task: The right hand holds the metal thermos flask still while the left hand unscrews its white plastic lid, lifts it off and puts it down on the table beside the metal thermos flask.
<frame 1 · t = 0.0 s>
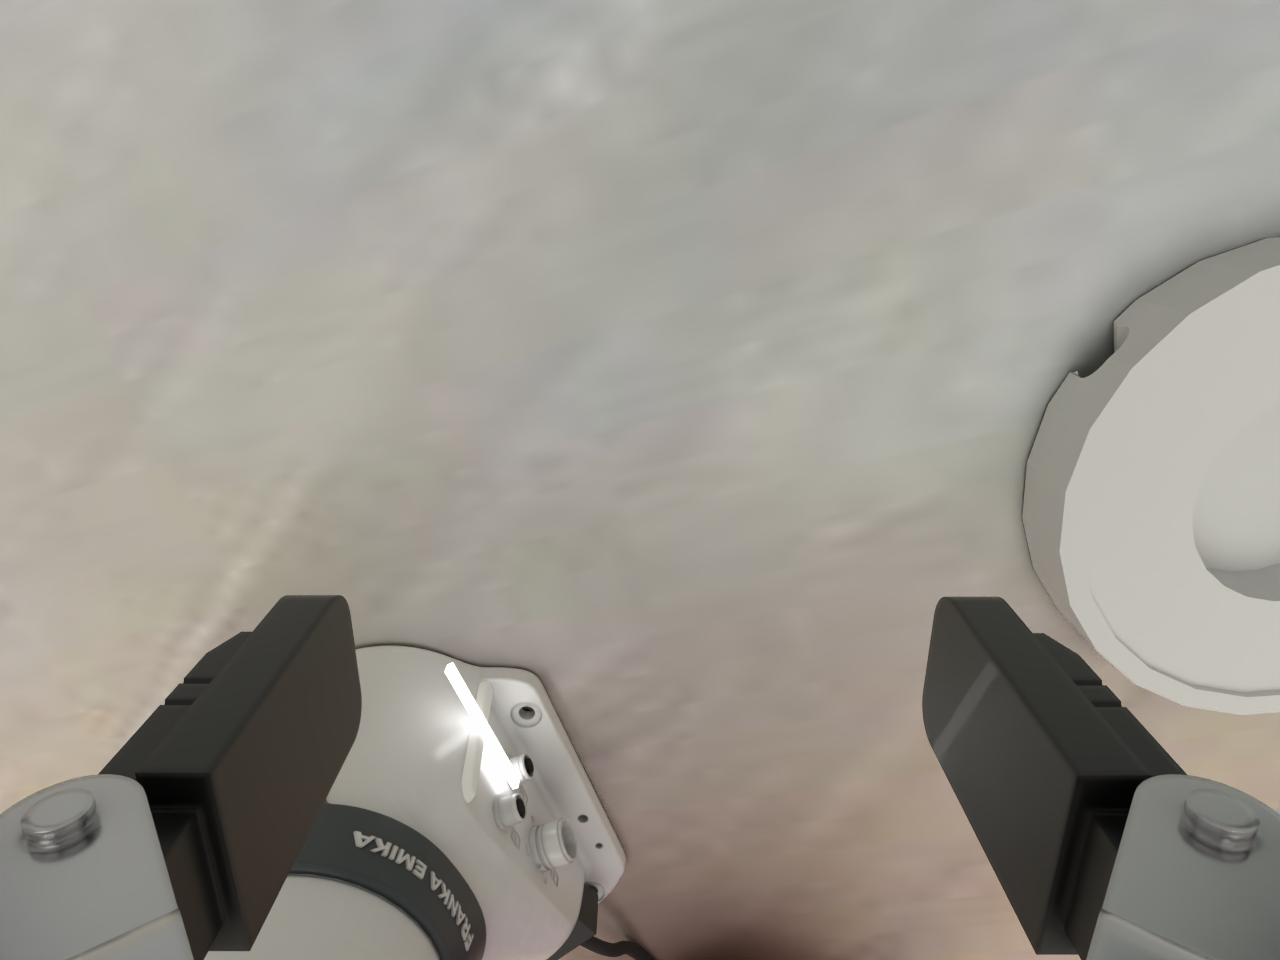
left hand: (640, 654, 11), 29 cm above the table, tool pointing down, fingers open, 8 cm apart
ashtray: (1253, 471, 42), on the table
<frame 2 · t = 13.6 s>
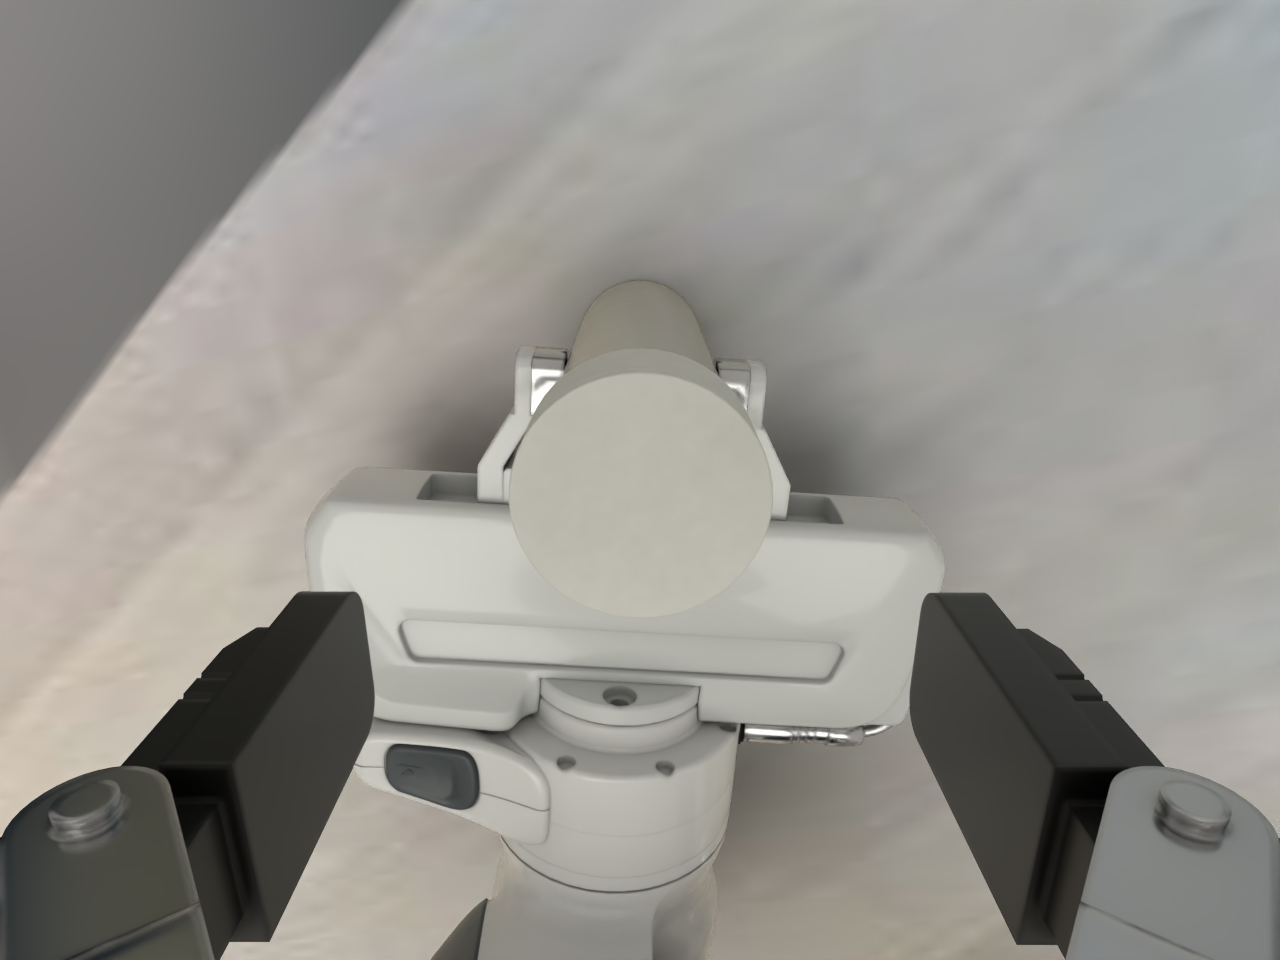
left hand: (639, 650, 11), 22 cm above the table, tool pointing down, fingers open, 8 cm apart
metal thermos flask: (639, 341, 32), on the table, touching right hand
lid: (640, 496, 17), point 16 cm above the table, screwed on, not yet turned
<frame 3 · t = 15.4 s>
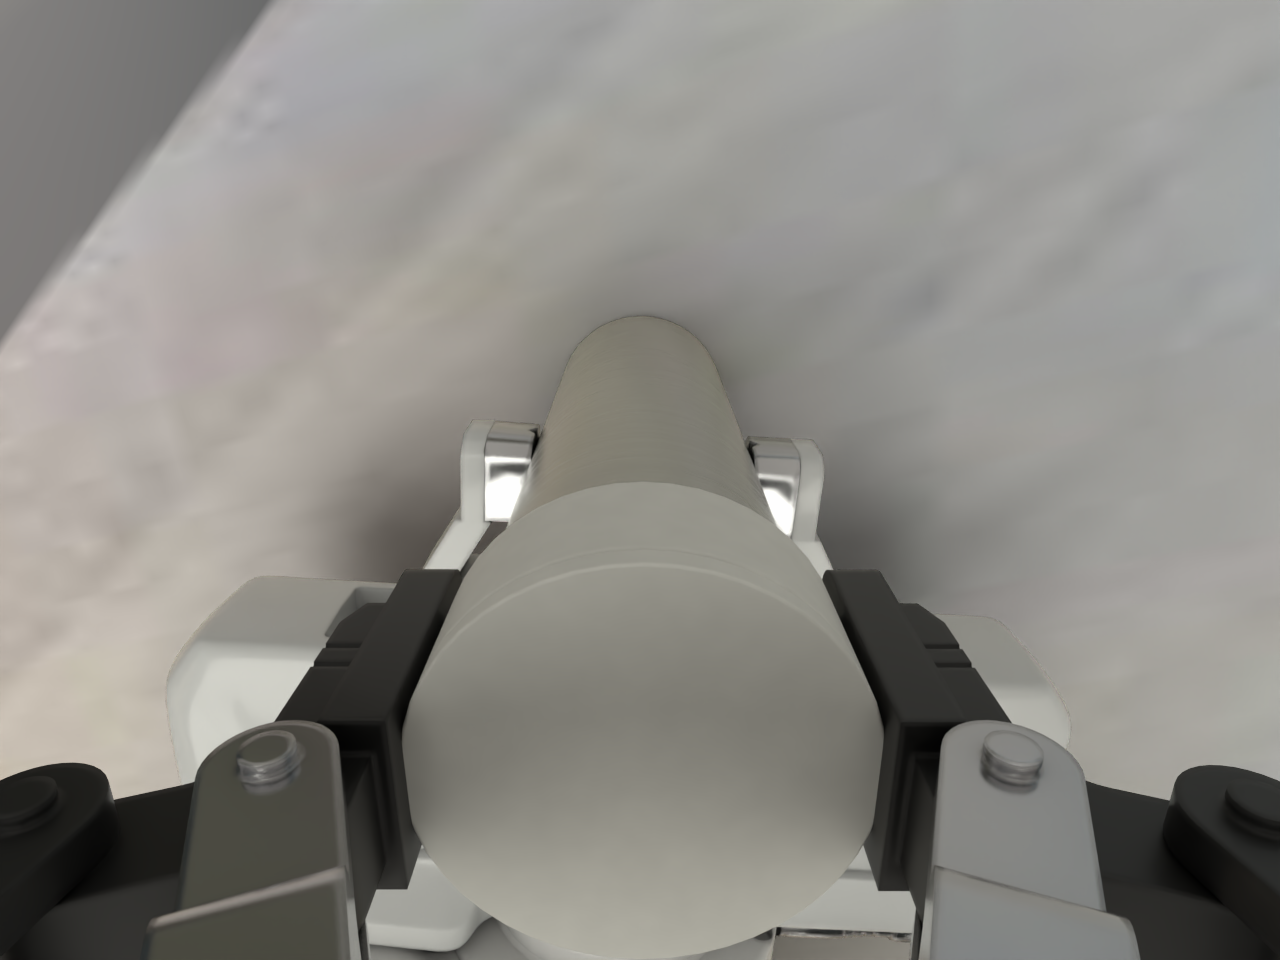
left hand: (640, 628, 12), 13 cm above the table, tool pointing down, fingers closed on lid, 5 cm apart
metal thermos flask: (640, 395, 24), on the table, touching right hand
lid: (642, 761, 9), point 16 cm above the table, screwed on, not yet turned, touching left hand
when the left hand's fingers open (13 cm above the table, at t = 16.9 s): lid stays where it is, point 16 cm above the table.
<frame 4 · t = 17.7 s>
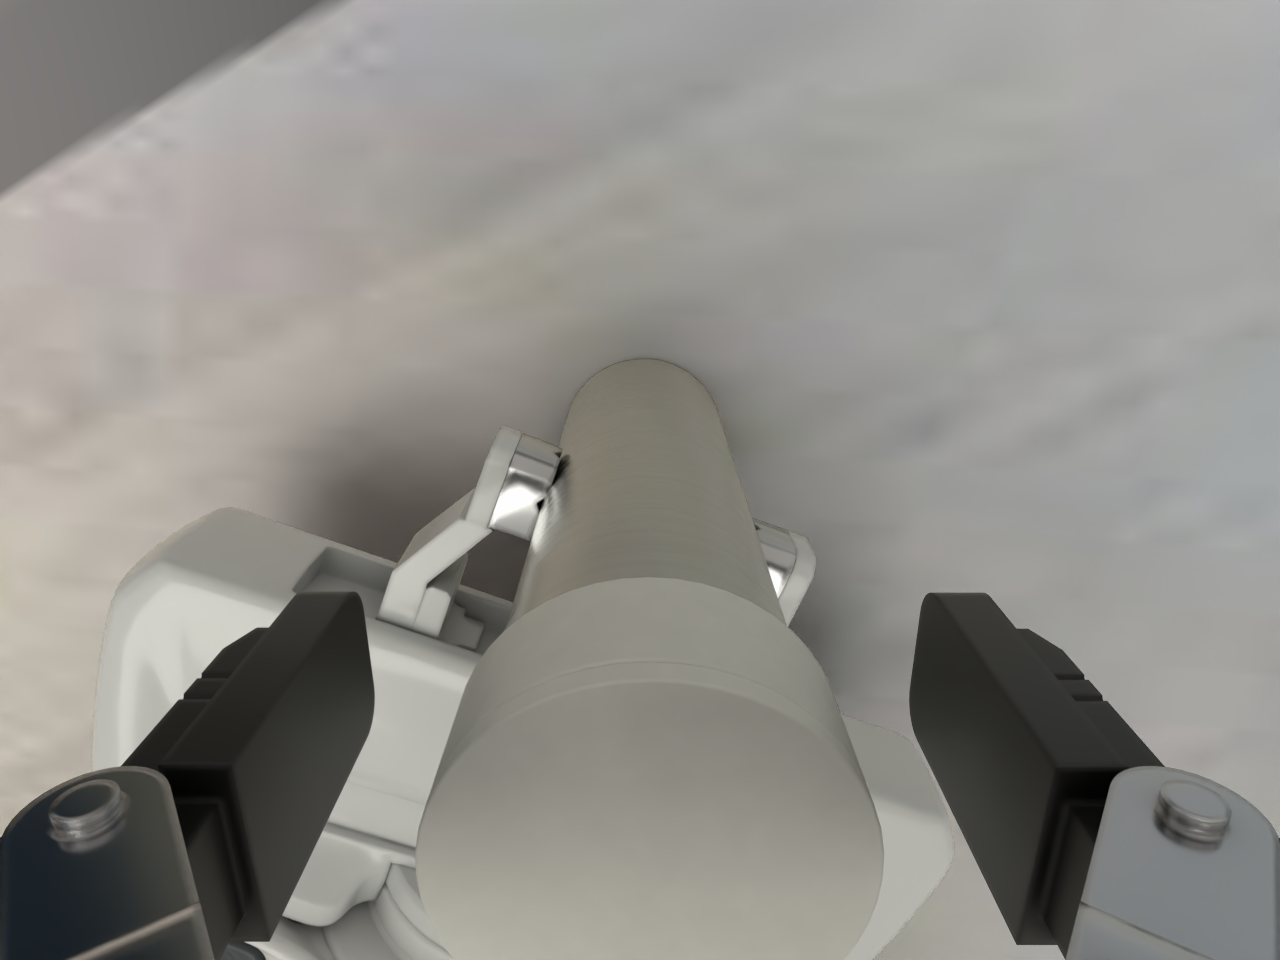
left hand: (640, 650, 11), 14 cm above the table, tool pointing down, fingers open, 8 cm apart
metal thermos flask: (643, 434, 25), on the table, touching right hand
lid: (649, 854, 10), point 16 cm above the table, turned 70° so far, risen 0.2 cm, still on its thread
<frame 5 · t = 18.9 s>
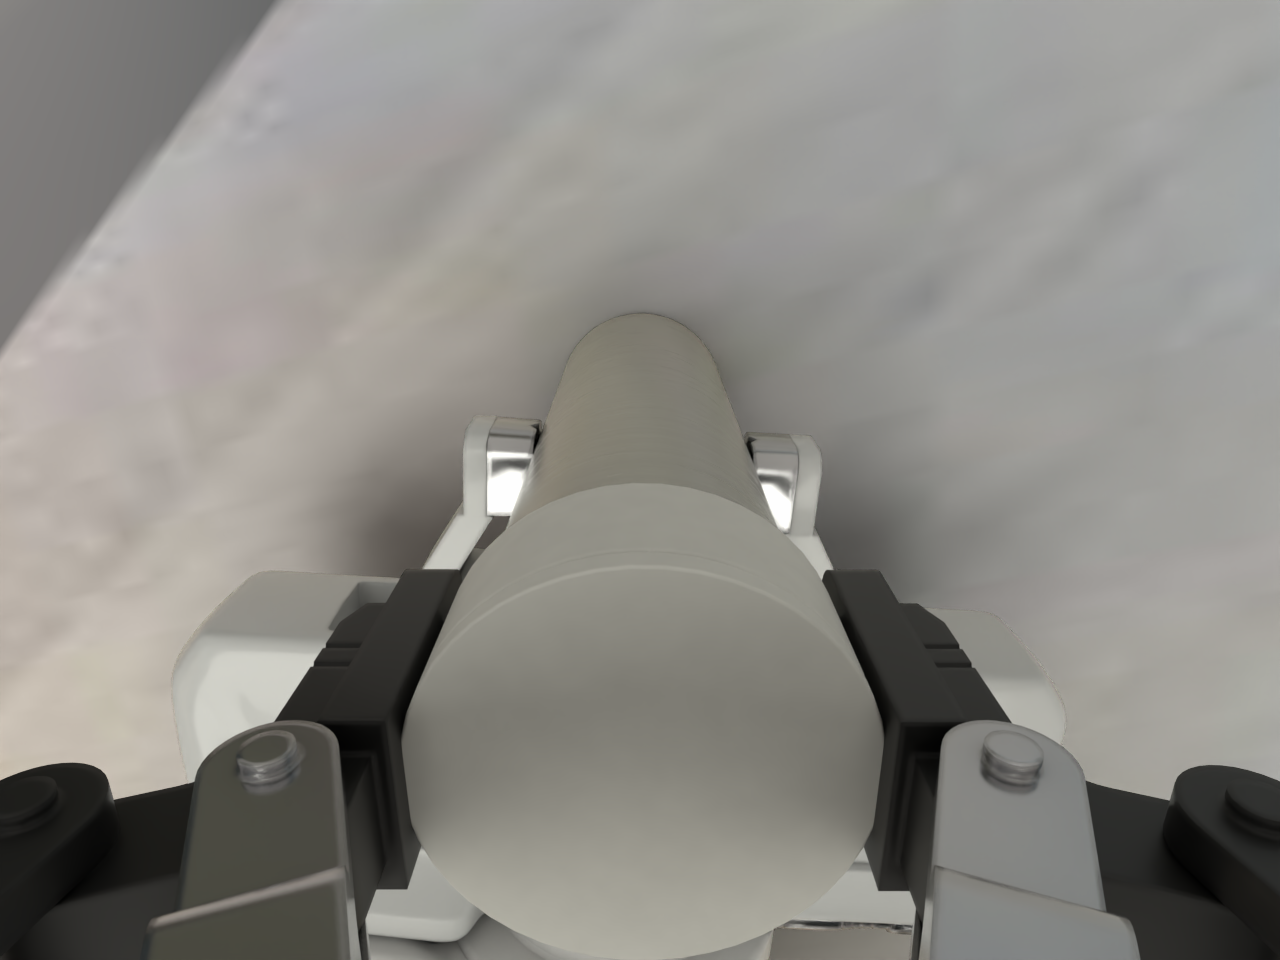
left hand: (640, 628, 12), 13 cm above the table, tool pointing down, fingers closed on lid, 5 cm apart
metal thermos flask: (640, 392, 24), on the table, touching right hand
lid: (642, 762, 9), point 16 cm above the table, turned 70° so far, risen 0.2 cm, still on its thread, touching left hand
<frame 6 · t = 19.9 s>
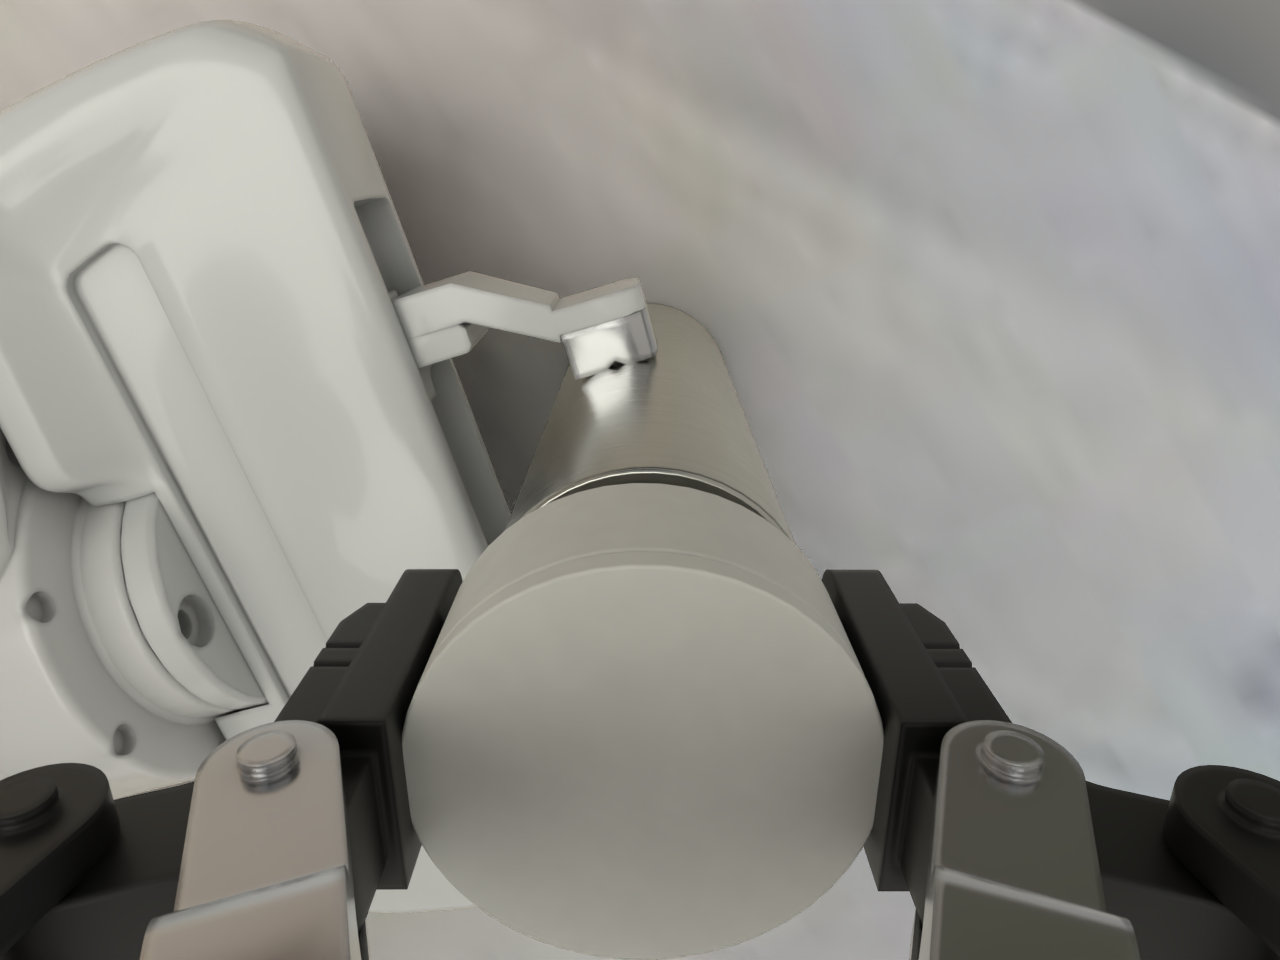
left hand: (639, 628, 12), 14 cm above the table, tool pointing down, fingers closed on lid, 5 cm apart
right hand: (687, 444, 18), fingers closed on metal thermos flask, 4 cm apart
metal thermos flask: (647, 382, 25), on the table, touching right hand
lid: (643, 762, 9), point 16 cm above the table, off its thread, touching left hand
when the left hand's fingers open (0 cm above the table, at t = 26.0 s): lid drops 1 cm, point 2 cm above the table.
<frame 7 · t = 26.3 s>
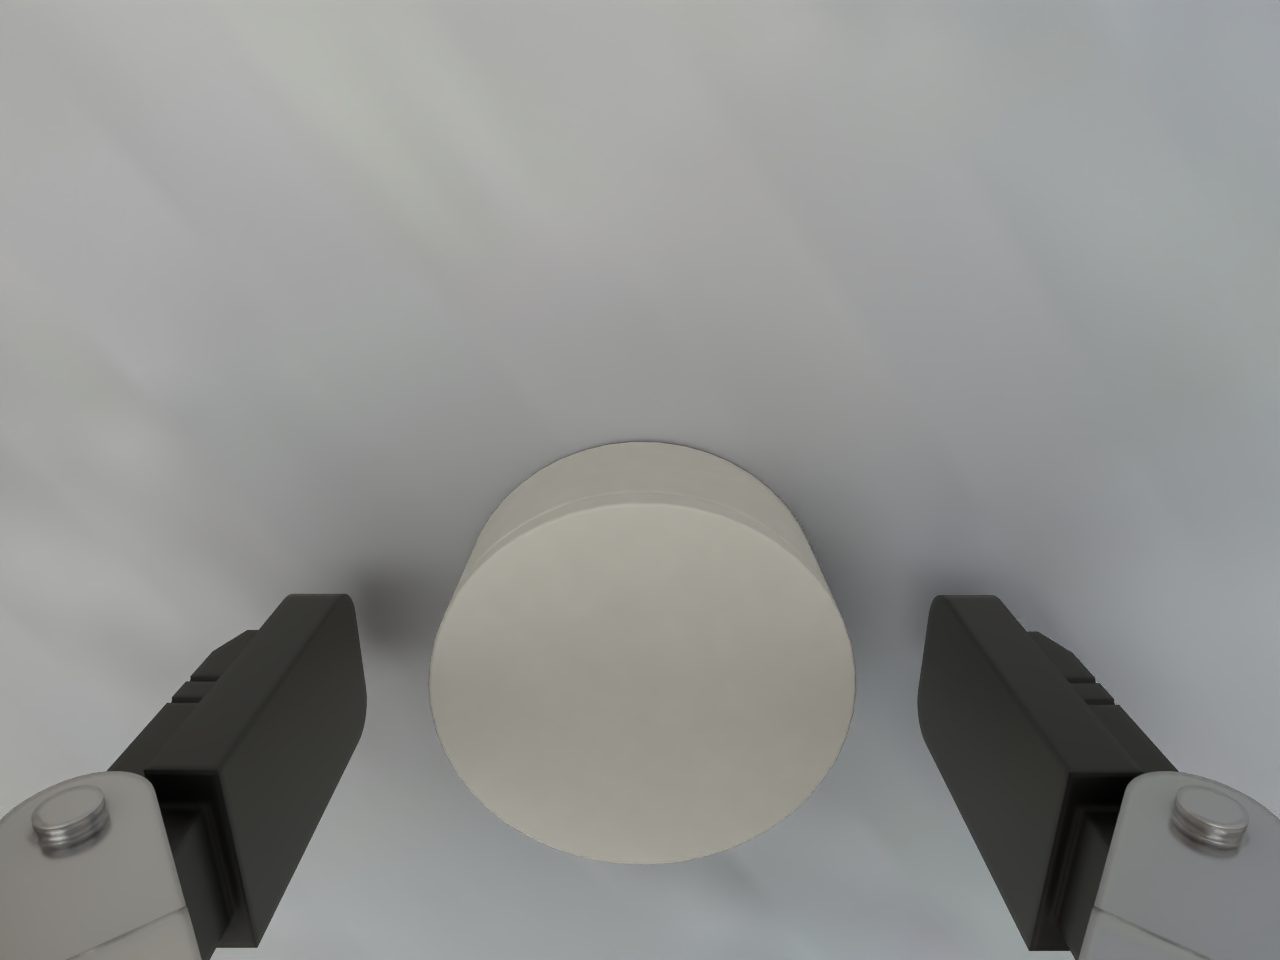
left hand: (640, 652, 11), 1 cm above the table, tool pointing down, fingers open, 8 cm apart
lid: (642, 684, 11), point 2 cm above the table, off its thread
when the right hand's fingers open (7 cm above the table, at t = 27.0 s): metal thermos flask stays where it is, on the table.
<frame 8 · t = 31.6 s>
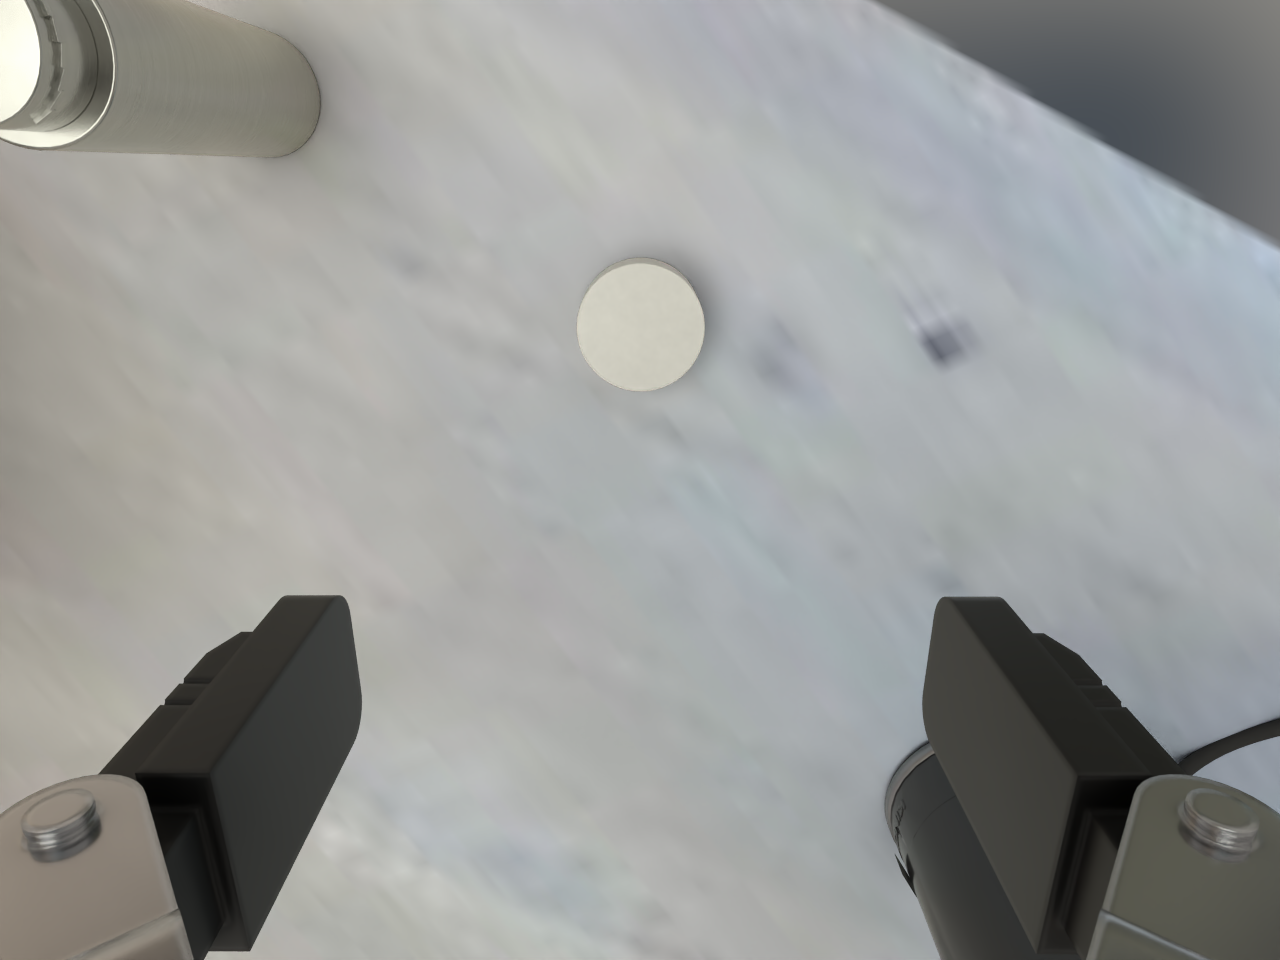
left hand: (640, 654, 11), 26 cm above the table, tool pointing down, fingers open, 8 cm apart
metal thermos flask: (261, 94, 33), on the table
lid: (640, 327, 34), point 2 cm above the table, off its thread
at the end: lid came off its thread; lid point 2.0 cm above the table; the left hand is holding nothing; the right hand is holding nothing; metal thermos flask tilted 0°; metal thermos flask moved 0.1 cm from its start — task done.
